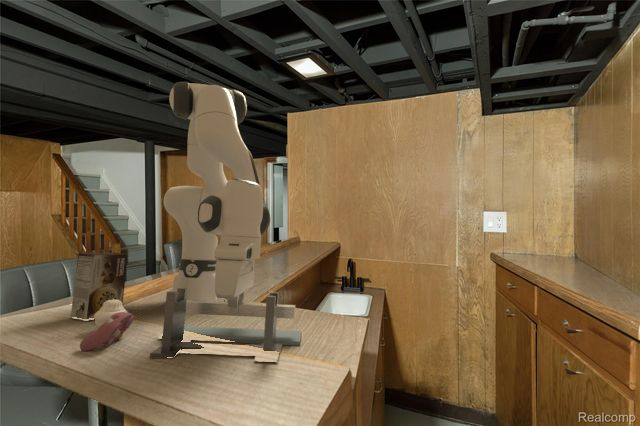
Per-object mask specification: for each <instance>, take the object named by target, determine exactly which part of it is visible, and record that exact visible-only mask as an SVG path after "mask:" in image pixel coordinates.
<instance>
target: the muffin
mask: <svg viewBox="0 0 640 426" xmlns="http://www.w3.org/2000/svg"><path fill="white" fill-rule="evenodd" d="M124 311H125V312H126V313H129V312H128V311H127V310H126V309H125V308H124V306H122V302H121V301H120V300H114V299H112V300H108V301H106V302H104V303H103V307H101V308H100V310H99V311H97V312H96V313H95V315H94V319H95V320H94V321H95V322H94V323H95V325H96V326H97V329H98V328H99V327H100V326H101V325H102V324H103V323H104V322H106V321H107V320H108V319H109V318H110V317H111V316H112V315H113V314H115V313H119V312H124Z"/></svg>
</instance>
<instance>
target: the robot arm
mask: <svg viewBox="0 0 640 426" xmlns="http://www.w3.org/2000/svg"><path fill="white" fill-rule="evenodd" d="M169 105H170V107H171V110H172V113H173V114H174V115H175V117H177V118H180V119H183V120H185V121H187V120H189V125H188V131H187V162H186V163H187V168H188V170H189V171H190V172H191V173H192V174H194V175H195V176H197V177H199V178H201V179H202V180H203V182H204V185H205V186H197V185H179V186H172V187H170V188H169V189H168V190H167V191H166V192H165V194H164V197H163V206H164V209H165V211H166V212H167V213H168V214H169V215H170V216H171V217H172V218H174V220H175V221H176V223H177V225H178V226H179V228H180V231H181V238H182V245H181V247H182V248H181V258H180V259H179V264H178V270H179V271H178V273H177V274H176V275H174V277H173V281H172V288H171V291H176V292H177V289H178V288H188V291H187V300H198V301H213V300H217V298H221V299H226V300H227V301H226V302H228V307H229V310H228V315H229V317H237V316H236V315H237V314H238V309H239V306H238V302H239V303H244V301H245V295H246V291H248V290H249V289H250V288H252V287H253V286H254V283H255V266H256V265H255V260H256V259H260V257H261V245H262V236H263V235H264V234H265V233H266V231H267V230H268V229H269V227H270V224H271V214H270V210H269V208H268V205H267V204H266V201H265V199H264V193H263V188H262V186H261V184H260V180H259V177H258V172H257V169H256V165H255V161H254V157H253V155H252V153H251V151H250V150H249V149H248V147H247V145H246V144H245V142H244V140H243V138H242V135H241V133H240V130H239V127H238V126H239V125H240V124H241V123H243V122H244V120H245V117H246V115H247V111H248V108H247V107H248V105H247V100H246V96H245V95H244V94H243V92H241V91H239V90H236V89H229V88H226V87H223V86H220V85H217V84H202V83H193V82H192V83H190V82H188V81H177V82H175V83H174V84H173V85H172V88H171V90H170V92H169ZM224 166H225V167H227V169H229V170H230V171H231V172H232V173H233V174H234V175H235V177H236V178H230V179H228V180H227V177H226V175H225V171H224ZM217 235H220V241H219V239H218V236H217ZM228 315H227V316H228Z"/></svg>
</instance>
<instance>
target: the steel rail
mask: <svg viewBox="0 0 640 426" xmlns="http://www.w3.org/2000/svg"><path fill="white" fill-rule="evenodd" d="M238 306H239V309H238V314H237V315H236V316H235V317H251V318H252V317H253V318H265V315H266V303H260V302H259V303H257V302H256V303H255V302H243V303H239V302H238ZM228 310H229V307H228V301H225V302H219V301H198V300H187V301H186V312H185V315H186V314H189V315H209V316H210V315H212V316H229V315H228ZM295 316H296V304H279V303H278V307H277V319H293V320H294V319H295ZM229 317H230V316H229Z"/></svg>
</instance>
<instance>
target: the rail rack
mask: <svg viewBox="0 0 640 426" xmlns="http://www.w3.org/2000/svg"><path fill="white" fill-rule="evenodd" d="M187 291H188V288H178V289H177V292H176V291H172V290H169V291H166V295H165V309H164V315H163V316H164V318H163V327H162V333H163V336H162V340H161V345H160V346H159V347H157V348H155V349H154V350H153V351H151V352H150V353H149V358H150V359H165V358H167V357H174V356H175V355H176V353H177V352H178V351H179V350H180V349H181V350H182V349H201V348H204V347H202V346H201V345H198V344H195V343H194V344H193V343H192V342H193V341H191V342H181V341H182V340H183V334H184V326H185V321H186V313H185V312H186V301H187ZM265 301H266V303H265V304H266V315H265V317H264V318H265V319H264V329H265V331H264V343H262V344H250V343H244V344H245V345H249V346H253V347H258V348H263V350H264V351H277V352H282V350H283V345H282V344H275V340H276V330H277V325H278V324H277V323H278V322H277V321H278V318H277V307H278V304H279V292H277V291H276V292H274V291H271V292H269V295H267V296H266V300H265Z"/></svg>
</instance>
